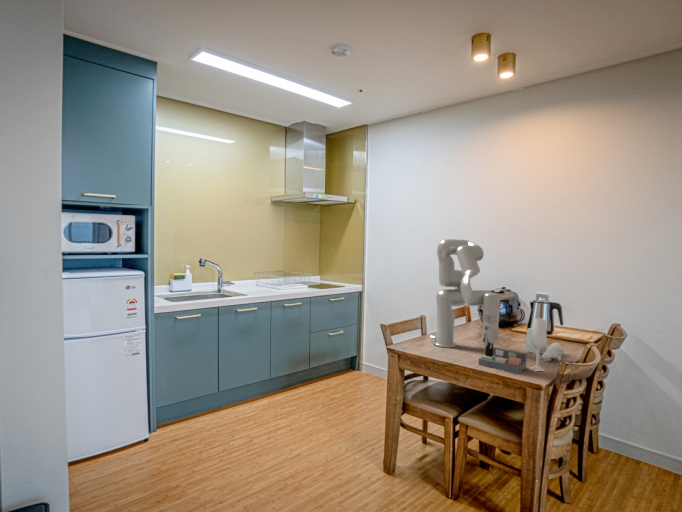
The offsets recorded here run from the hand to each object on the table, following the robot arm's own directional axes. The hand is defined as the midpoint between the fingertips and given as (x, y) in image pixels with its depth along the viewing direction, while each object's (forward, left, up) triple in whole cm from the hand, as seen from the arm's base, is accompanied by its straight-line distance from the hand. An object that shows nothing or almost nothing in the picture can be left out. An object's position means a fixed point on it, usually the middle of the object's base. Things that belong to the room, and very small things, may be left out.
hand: (488, 355), depth 194 cm
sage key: (0, 0, -2) cm, 3 cm away
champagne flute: (+20, +9, -4) cm, 22 cm away
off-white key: (+6, 0, -3) cm, 6 cm away
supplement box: (+11, +42, -4) cm, 43 cm away
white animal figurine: (+21, +31, -4) cm, 37 cm away
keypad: (+6, +2, -4) cm, 7 cm away
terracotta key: (+12, 0, -1) cm, 12 cm away
